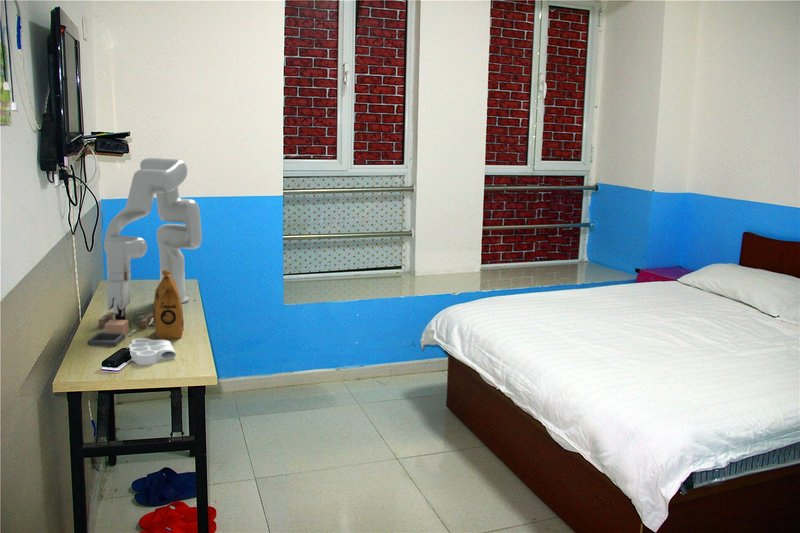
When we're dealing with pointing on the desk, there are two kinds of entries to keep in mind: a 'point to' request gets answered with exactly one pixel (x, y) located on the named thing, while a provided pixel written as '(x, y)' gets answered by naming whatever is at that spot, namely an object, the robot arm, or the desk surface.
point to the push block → (117, 327)
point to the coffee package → (168, 309)
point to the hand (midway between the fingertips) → (120, 326)
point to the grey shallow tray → (106, 339)
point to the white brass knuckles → (150, 350)
